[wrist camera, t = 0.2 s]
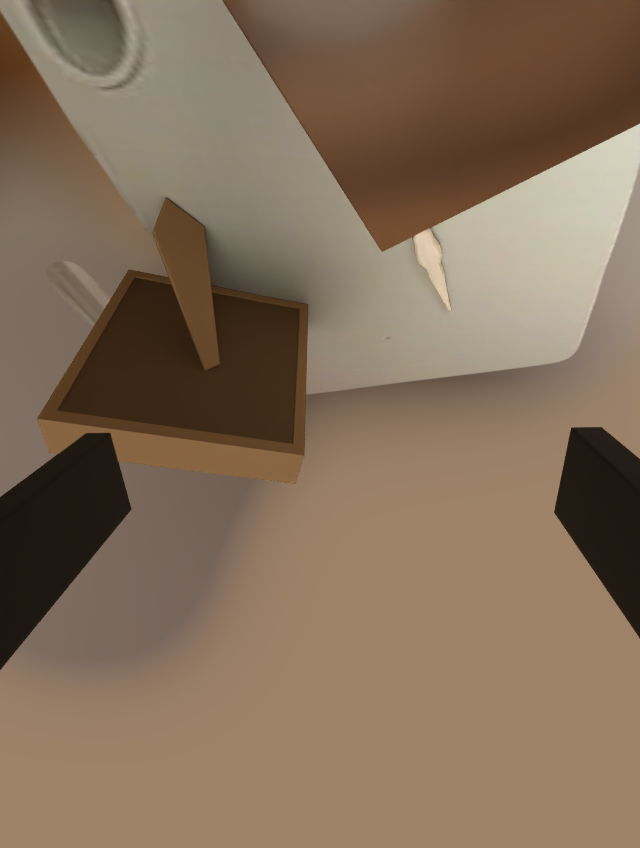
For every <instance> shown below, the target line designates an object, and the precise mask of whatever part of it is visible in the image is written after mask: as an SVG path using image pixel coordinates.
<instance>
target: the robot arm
mask: <svg viewBox="0 0 640 848" xmlns="http://www.w3.org/2000/svg"><path fill="white" fill-rule="evenodd" d="M130 510H131V506H130V503H129V499H128V495H127V491H126V488H125V484H124V481H123V477H122V473H121V470H120V466H119V462H118V459H117V455H116V451H115V448H114V444H113V440H112V437H111V433H86V434H84V435H83V436H82V437H80V438H79V439H78V440H76V441H75V442H74V443H72V444H71V445H70V446H68V447H67V448H66V449H64V450H63V451H61V452H60V453H59V454H57V455H56V456H55V457H53V458H52V459H51V460H49V461H48V462H47V463H46V464H44V465H43V466H41V467H40V468H39V469H37V470H36V471H35V472H33V473H32V474H31V475H29V476H28V477H27V478H25V479H24V480H23V481H21V482H20V483H19V484H17V485H16V486H15V487H13V488H12V489H11V490H9V491H8V492H7V493H5V494H4V495H3V496H1V497H0V670H1V668H2V667H3V666H4V665H5V664H6V662H7V661H8V660H9V659H10V657H11V656H12V655H13V654H14V652H15V651H16V650H17V649H18V647H19V646H20V645H21V644H22V643H23V641H24V640H25V639H26V638H27V637H28V635H29V634H30V633H31V632H32V630H33V629H34V628H35V627H36V626H37V624H38V623H39V622H40V621H41V619H42V618H43V617H44V616H45V615H46V613H47V612H48V611H49V610H50V608H51V607H52V606H53V605H54V603H55V602H56V601H57V600H58V599H59V597H60V596H61V595H62V594H63V592H64V591H65V590H66V589H67V588H68V586H69V585H70V584H71V583H72V581H73V580H74V579H75V578H76V577H77V575H78V574H79V573H80V572H81V570H82V569H83V568H84V567H85V566H86V564H87V563H88V562H89V561H90V559H91V558H92V557H93V556H94V554H95V553H96V552H97V551H98V550H99V548H100V547H101V546H102V545H103V543H104V542H105V541H106V540H107V539H108V537H109V536H110V535H111V534H112V532H113V531H114V530H115V529H116V527H117V526H118V525H119V524H120V523H121V521H122V520H123V519H124V518H125V517H126V515H127V514H128V513H129V512H130ZM554 513H555V514H556V516H557V517H558V519H559V520H560V522H561V523H562V525H563V526H564V528H565V529H566V531H567V532H568V533H569V535H570V536H571V538H572V539H573V541H574V542H575V544H576V545H577V547H578V548H579V550H580V551H581V553H582V554H583V555H584V557H585V558H586V560H587V561H588V563H589V564H590V566H591V567H592V569H593V570H594V571H595V573H596V575H597V576H598V578H599V579H600V580H601V582H602V583H603V585H604V586H605V588H606V589H607V591H608V592H609V593H610V595H611V597H612V598H613V599H614V601H615V602H616V604H617V605H618V607H619V608H620V610H621V611H622V613H623V614H624V615H625V617H626V618H627V620H628V622H629V623H630V624H631V626H632V627H633V629H634V630H635V632H636V633H637V635H638V636H639V638H640V459H639V458H638V457H637V456H635V455H634V454H633V453H632V452H631V451H629V450H628V449H627V448H626V447H625V446H623V445H622V444H621V443H620V442H618V441H617V440H616V439H615V438H614V437H613V436H611V435H610V434H609V433H607V432H606V431H605V430H604V429H603V428H602V427H584V428H571V432H570V436H569V441H568V446H567V451H566V456H565V461H564V466H563V471H562V476H561V481H560V486H559V491H558V496H557V501H556V506H555V511H554Z"/></svg>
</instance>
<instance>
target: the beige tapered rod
mask: <svg viewBox="0 0 640 848" xmlns="http://www.w3.org/2000/svg"><path fill="white" fill-rule="evenodd" d="M413 242H414V243H415V256H416V258H417V261H418V263H419V264H420V265H421V266H422V267H424V268H426V270H427V272H428V274H429V276H430V278H431V280H432V283H433V284H434V286H435V287H436V289H437V290H438V292H439V294H440V296H441V297H442V299H443V301H444V303H445V304H446V306H447V308H448V309H449V311H450V312H451V311H452V310H451V307H450V302H449V298H448V291H447V287H446V281H445V275H444V271H443V267H442V264H441V262H440V261H441V258H442V250H441V248H440V245H439V243H438V242H437V240H436V239H435V237H434V236H433V234H432V231H431V229H427V230H425V231H423V232H421V233H419V234H417V235H415V236H413Z"/></svg>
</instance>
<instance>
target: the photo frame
mask: <svg viewBox="0 0 640 848" xmlns="http://www.w3.org/2000/svg"><path fill="white" fill-rule="evenodd" d="M152 234H153V237H154V239H155V242H156V245H157V247H158V250H159V252H160V255H161V258H162V260H163V263H164V265H165V268H166V271H167V273H168V276H169V277H164V276H159V275H154V274H148V273H144V272H139V271H134V270H128V272H127V273H126V275H125V277H124V278H123V280H122V282H121V283H120V285H119V286H118V288H117V290H116V292H115V293H114V295H113V296H112V298H111V299H110V301H109V303H108V304H107V306H106V308H105V309H104V311H103V312H102V314H101V316H100V317H99V319H98V321H97V322H96V324H95V325H94V327H93V329H92V330H91V332H90V334H89V335H88V337H87V338H86V340H85V342H84V343H83V345H82V347H81V348H80V350H79V352H78V353H77V355H76V356H75V358H74V360H73V361H72V363H71V365H70V366H69V368H68V370H67V371H66V373H65V374H64V376H63V378H62V379H61V381H60V382H59V384H58V386H57V387H56V389H55V390H54V392H53V394H52V395H51V397H50V399H49V400H48V402H47V404H46V405H45V407H44V409H43V410H42V412H41V413H40V415H39V417H38V418H37V420H38V423H39V425H40V428H41V431H42V434H43V436H44V439H45V442H46V445H47V448H48V450H49V453H56V454H59V453H60V452H61V451H63V450H64V449H66V448H67V447H68V446H70V445H71V444H72V443H74V442H75V441H76V440H78V439H79V438H80V437H82V436H83V435H84V434H86V433H111V437H112V440H113V444H114V448H115V451H116V455H117V459H118V461H119V462H127V463H135V464H142V465H151V466H158V467H166V468H174V469H182V470H190V471H198V472H206V473H214V474H221V475H229V476H237V477H246V478H253V479H261V480H269V481H277V482H285V483H293V484H295V483H296V480H297V477H298V474H299V471H300V468H301V465H302V461H303V458H304V448H305V410H306V372H307V333H308V305H307V304H302V303H297V302H292V301H287V300H282V299H276V298H271V297H266V296H261V295H256V294H251V293H246V292H241V291H236V290H231V289H225V288H220V287H215V286H211V282H210V273H209V264H208V255H207V247H206V238H205V229H204V226H203V225H201V224H200V223H199V222H197V221H196V220H195V219H193V218H192V217H190V216H189V215H188V214H186V213H185V212H184V211H182V210H181V209H180V208H178V207H177V206H176V205H174V204H173V203H172V202H170V201H169V200H168V199H166V200H165V201H164V204H163V206H162V209H161V211H160V214H159V217H158V219H157V222H156V224H155V227H154V229H153V232H152Z"/></svg>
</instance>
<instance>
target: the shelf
mask: <svg viewBox="0 0 640 848" xmlns="http://www.w3.org/2000/svg"><path fill="white" fill-rule="evenodd" d="M223 2H224V4H225V5H226V7H227V8H228V10H229V11H230V13H231V15H232V16H233V18H234V19H235V21H236V22H237V24H238V26H239V27H240V29H241V30H242V32H243V34H244V35H245V37H246V38H247V40H248V41H249V43H250V45H251V46H252V48H253V49H254V51H255V52H256V54H257V56H258V57H259V59H260V60H261V62H262V63H263V65H264V67H265V68H266V70H267V71H268V73H269V75H270V76H271V78H272V79H273V81H274V82H275V84H276V86H277V87H278V89H279V90H280V92H281V93H282V95H283V97H284V98H285V100H286V101H287V103H288V105H289V106H290V108H291V109H292V111H293V112H294V114H295V116H296V117H297V119H298V120H299V122H300V123H301V125H302V127H303V128H304V130H305V131H306V133H307V134H308V136H309V138H310V139H311V141H312V142H313V144H314V146H315V147H316V149H317V150H318V152H319V153H320V155H321V157H322V158H323V160H324V161H325V163H326V164H327V166H328V168H329V169H330V171H331V172H332V174H333V176H334V177H335V179H336V180H337V182H338V183H339V185H340V187H341V188H342V190H343V191H344V193H345V194H346V196H347V198H348V199H349V201H350V202H351V204H352V206H353V207H354V209H355V210H356V212H357V213H358V215H359V217H360V218H361V220H362V221H363V223H364V224H365V226H366V228H367V229H368V231H369V232H370V234H371V235H372V237H373V239H374V240H375V242H376V243H377V245H378V247H379V248H380V250H381V251H385V250H387V249H389V248H391V247H393V246H395V245H397V244H399V243H401V242H403V241H405V240H407V239H409V238H411V237H413V236H415V235H417V234H419V233H421V232H423V231H425V230H427V229H429V228H431V227H433V226H435V225H437V224H439V223H441V222H443V221H445V220H447V219H449V218H451V217H453V216H455V215H457V214H459V213H461V212H463V211H465V210H467V209H469V208H471V207H473V206H475V205H477V204H479V203H481V202H483V201H485V200H487V199H489V198H491V197H493V196H495V195H497V194H499V193H501V192H503V191H505V190H507V189H509V188H511V187H513V186H515V185H517V184H519V183H521V182H523V181H525V180H527V179H529V178H531V177H533V176H535V175H537V174H539V173H541V172H543V171H545V170H547V169H549V168H551V167H553V166H556V165H558V164H560V163H562V162H564V161H566V160H568V159H570V158H572V157H574V156H576V155H578V154H580V153H582V152H584V151H586V150H588V149H590V148H592V147H594V146H596V145H598V144H600V143H602V142H604V141H606V140H608V139H610V138H612V137H614V136H616V135H618V134H620V133H622V132H624V131H626V130H628V129H630V128H632V127H634V126H636V125H638V124H640V0H223Z"/></svg>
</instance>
